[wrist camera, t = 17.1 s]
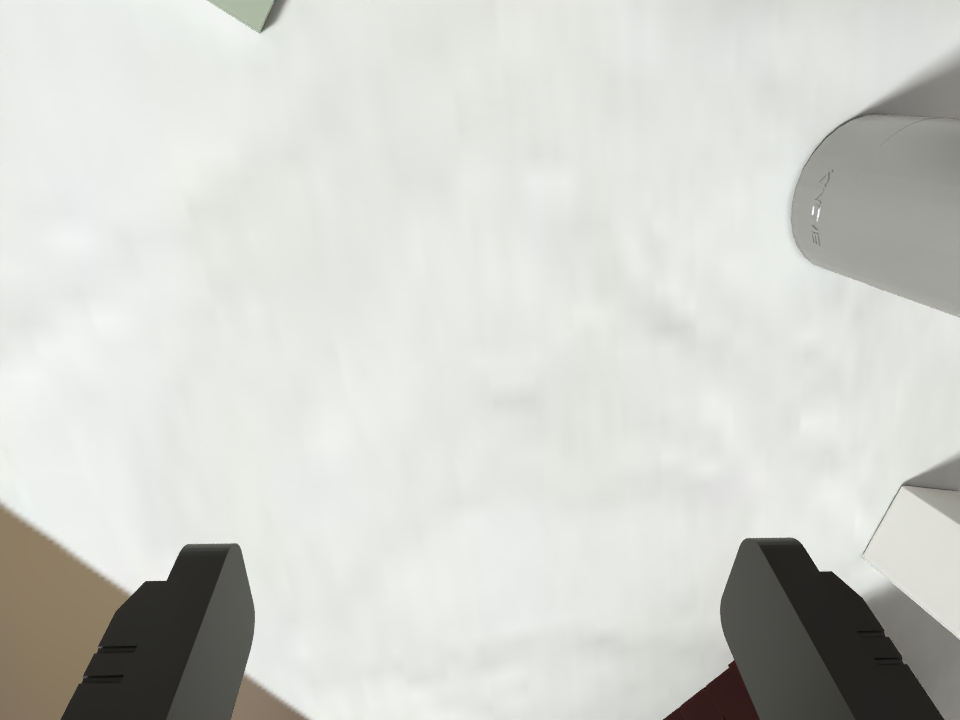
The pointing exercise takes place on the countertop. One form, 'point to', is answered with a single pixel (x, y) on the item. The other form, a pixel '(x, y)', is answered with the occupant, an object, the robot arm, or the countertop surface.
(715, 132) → the countertop surface
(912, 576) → the milk carton
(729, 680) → the house
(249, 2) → the sage mat
